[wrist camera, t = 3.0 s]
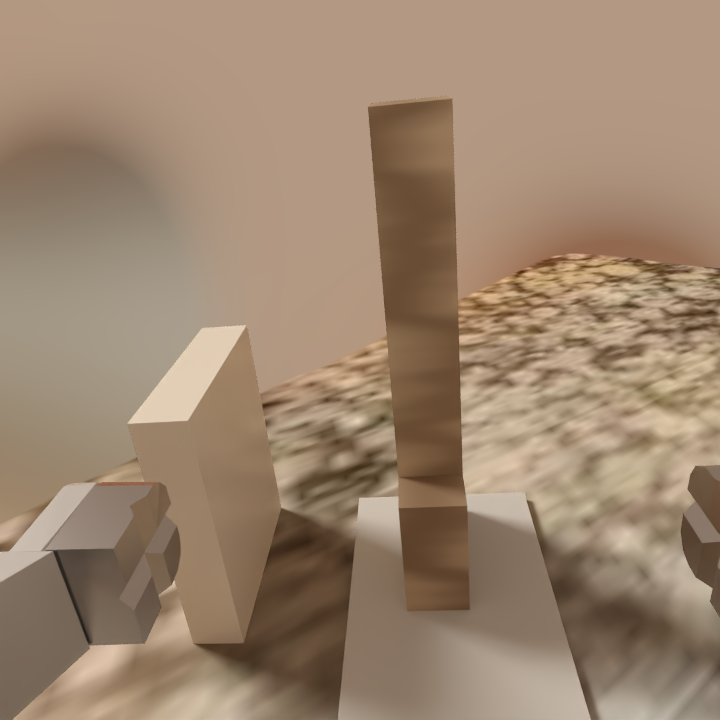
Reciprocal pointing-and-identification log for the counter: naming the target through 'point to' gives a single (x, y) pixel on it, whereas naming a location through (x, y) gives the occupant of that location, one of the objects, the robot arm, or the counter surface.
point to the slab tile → (213, 478)
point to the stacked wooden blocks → (423, 342)
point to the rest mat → (458, 627)
